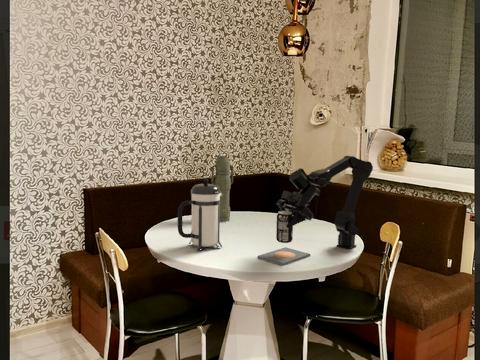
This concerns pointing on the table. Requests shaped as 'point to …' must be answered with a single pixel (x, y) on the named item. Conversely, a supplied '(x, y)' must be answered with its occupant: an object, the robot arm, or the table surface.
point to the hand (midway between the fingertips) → (282, 225)
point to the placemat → (284, 256)
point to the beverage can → (284, 227)
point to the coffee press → (203, 215)
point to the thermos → (223, 184)
